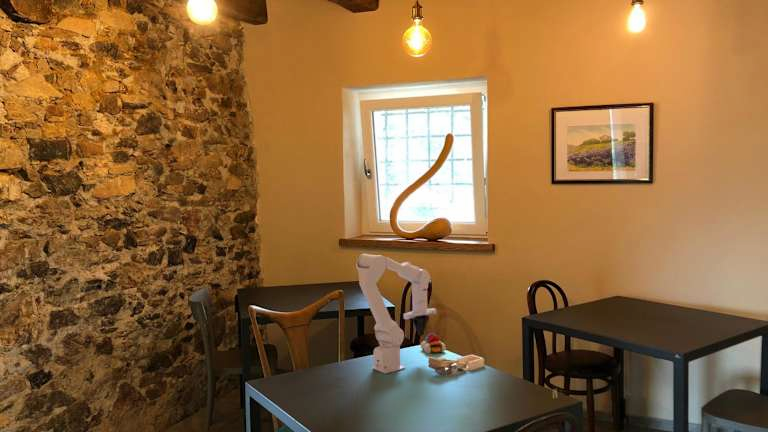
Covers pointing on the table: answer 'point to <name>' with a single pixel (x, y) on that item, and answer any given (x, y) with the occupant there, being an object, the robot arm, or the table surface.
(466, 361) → the tan shallow rectangular box
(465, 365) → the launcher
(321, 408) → the table surface
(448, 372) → the mount
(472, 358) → the ball
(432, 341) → the colorful rounded pieces cluster
